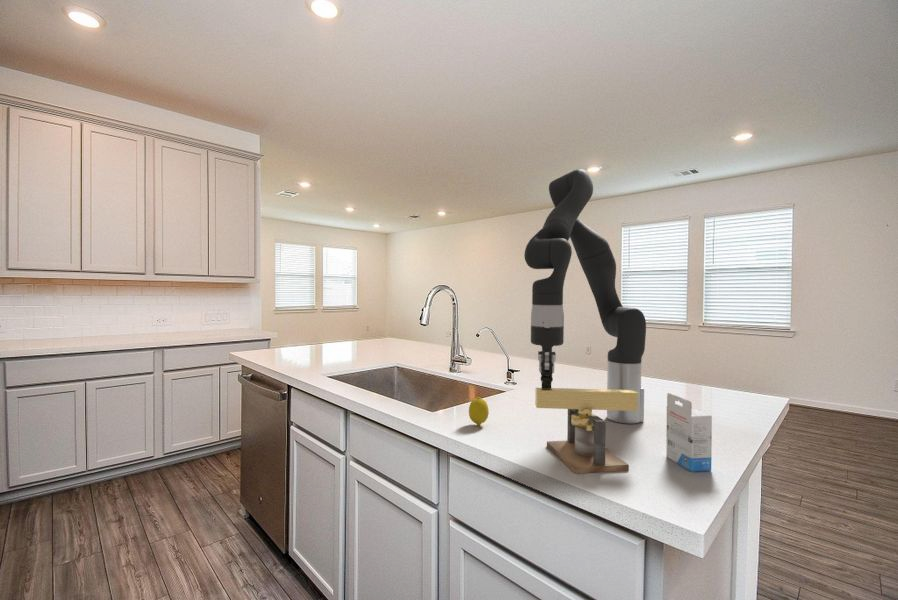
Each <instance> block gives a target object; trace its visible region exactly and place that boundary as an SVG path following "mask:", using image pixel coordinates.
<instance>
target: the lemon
mask: <svg viewBox="0 0 898 600" xmlns="http://www.w3.org/2000/svg"><path fill="white" fill-rule="evenodd" d="M489 412H490V411H489V405H488V403H487V402H486V400H485V399H483V398H481V397H480V396H478V397H476V398H474V399H473V400H472V401H470V403H469V407H468V415H469V419H470V420H471V422H473V423H475V424H476V425H477V426H481V425H482V424H484V423H485V422H486V421H487V420H488V417H489V414H490V413H489Z"/></svg>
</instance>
